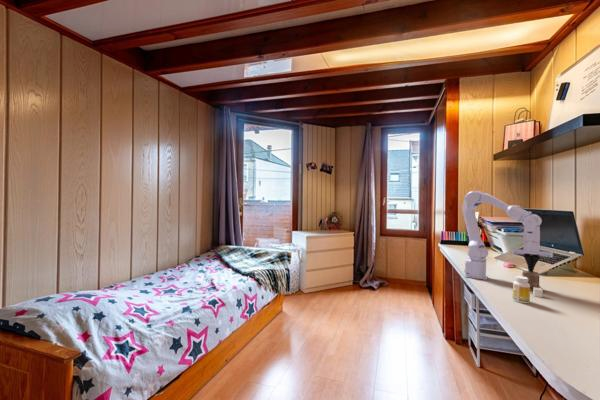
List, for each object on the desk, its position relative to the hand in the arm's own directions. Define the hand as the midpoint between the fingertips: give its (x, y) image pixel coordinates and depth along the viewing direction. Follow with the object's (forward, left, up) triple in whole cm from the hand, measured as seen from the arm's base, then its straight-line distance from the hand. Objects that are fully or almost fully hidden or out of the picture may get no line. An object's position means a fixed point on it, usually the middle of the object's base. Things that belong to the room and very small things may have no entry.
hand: (530, 271), depth 127 cm
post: (0, 0, -8) cm, 8 cm away
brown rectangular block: (0, 0, -7) cm, 7 cm away
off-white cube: (+1, -10, -8) cm, 13 cm away
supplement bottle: (-6, -21, -8) cm, 23 cm away
